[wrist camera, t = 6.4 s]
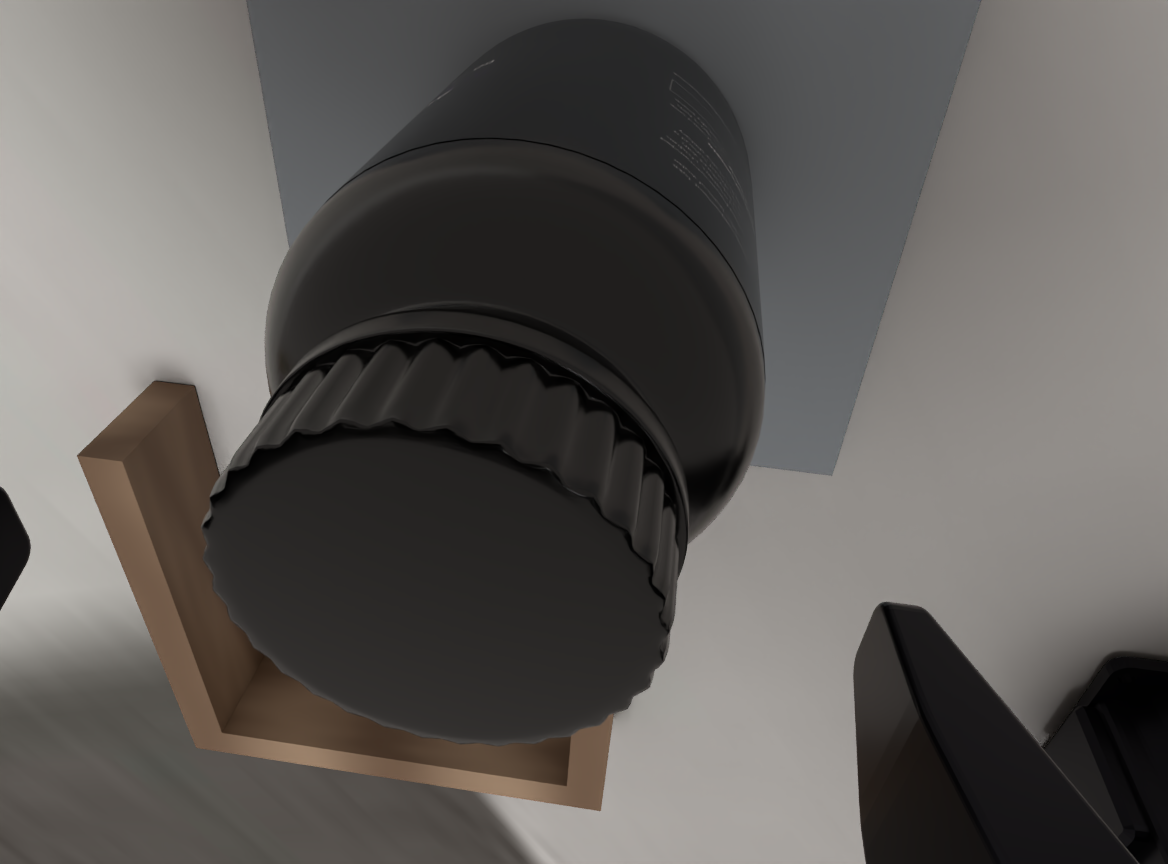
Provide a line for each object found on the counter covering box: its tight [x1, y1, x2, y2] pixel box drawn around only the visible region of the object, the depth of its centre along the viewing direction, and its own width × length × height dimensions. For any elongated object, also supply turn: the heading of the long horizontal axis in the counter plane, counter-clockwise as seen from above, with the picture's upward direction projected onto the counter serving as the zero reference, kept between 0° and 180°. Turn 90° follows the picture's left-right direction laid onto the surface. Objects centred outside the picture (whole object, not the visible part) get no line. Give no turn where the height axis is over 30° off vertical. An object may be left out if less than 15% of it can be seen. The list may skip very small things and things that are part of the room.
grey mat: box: [246, 0, 981, 476], centre depth 18 cm, size 14×14×1 cm
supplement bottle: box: [201, 18, 766, 747], centre depth 13 cm, size 7×7×12 cm
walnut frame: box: [77, 381, 614, 811], centre depth 25 cm, size 14×13×4 cm
